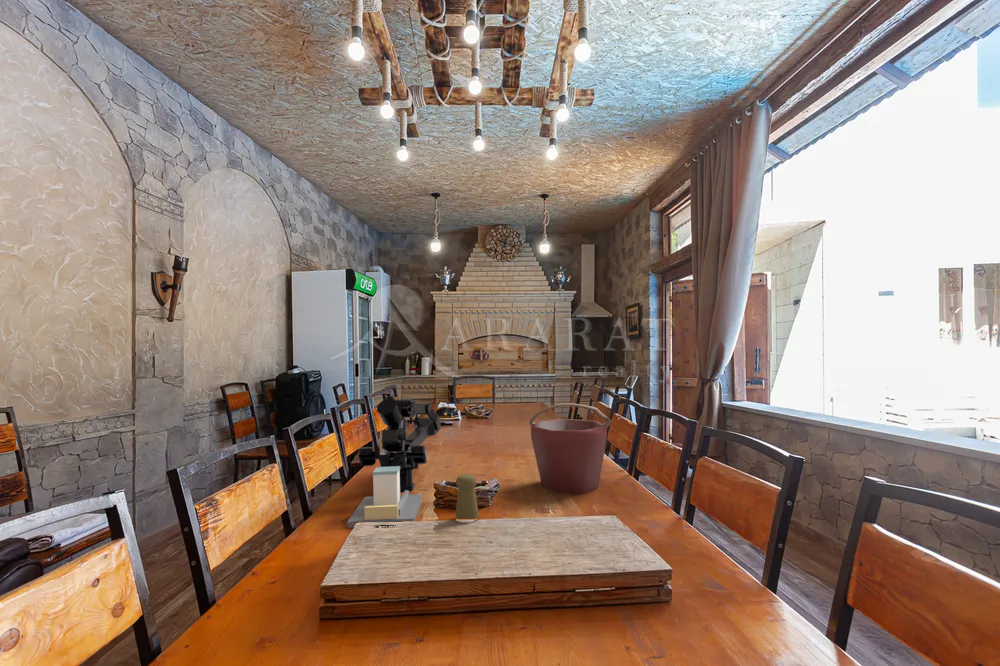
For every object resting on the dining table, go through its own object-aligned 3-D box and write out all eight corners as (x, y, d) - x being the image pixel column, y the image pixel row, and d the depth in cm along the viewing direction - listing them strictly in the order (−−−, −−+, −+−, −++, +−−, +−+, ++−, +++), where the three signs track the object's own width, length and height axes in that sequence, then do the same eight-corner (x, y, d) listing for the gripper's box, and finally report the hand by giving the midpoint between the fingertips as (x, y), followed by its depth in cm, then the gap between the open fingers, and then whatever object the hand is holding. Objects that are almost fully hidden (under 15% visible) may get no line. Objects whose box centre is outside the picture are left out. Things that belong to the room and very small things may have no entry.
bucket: (620, 482, 150) (618, 401, 151) (594, 502, 131) (591, 410, 132) (550, 472, 163) (548, 398, 164) (516, 490, 144) (514, 406, 145)
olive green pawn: (475, 523, 118) (474, 478, 118) (452, 522, 119) (451, 477, 119) (481, 515, 124) (480, 472, 124) (459, 514, 125) (458, 471, 125)
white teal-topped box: (377, 503, 129) (376, 467, 130) (400, 502, 130) (399, 466, 130) (373, 510, 124) (372, 472, 124) (397, 509, 124) (396, 471, 125)
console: (365, 501, 137) (365, 485, 137) (422, 499, 138) (421, 483, 138) (347, 527, 117) (347, 509, 118) (413, 524, 118) (413, 506, 118)
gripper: (359, 419, 138) (349, 467, 126) (425, 417, 139) (421, 465, 127) (365, 441, 145) (357, 489, 134) (428, 439, 146) (425, 486, 135)
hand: (389, 482), depth 132 cm, fingers closed
